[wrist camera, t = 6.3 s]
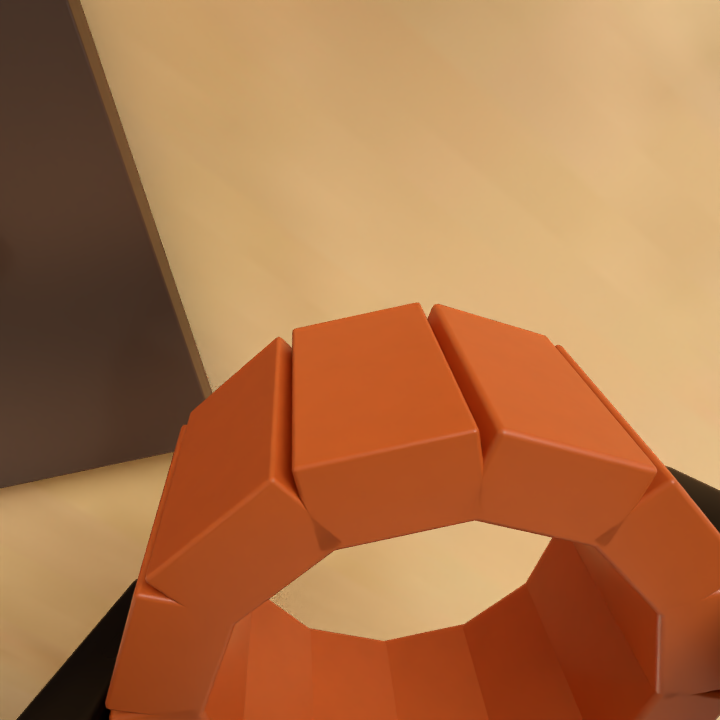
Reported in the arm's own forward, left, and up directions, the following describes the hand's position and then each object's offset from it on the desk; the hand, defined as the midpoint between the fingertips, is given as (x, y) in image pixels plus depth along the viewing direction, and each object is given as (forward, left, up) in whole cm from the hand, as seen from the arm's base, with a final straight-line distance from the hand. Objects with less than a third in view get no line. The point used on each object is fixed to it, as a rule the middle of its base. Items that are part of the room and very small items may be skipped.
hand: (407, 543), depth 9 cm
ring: (0, 0, 0) cm, 0 cm away
